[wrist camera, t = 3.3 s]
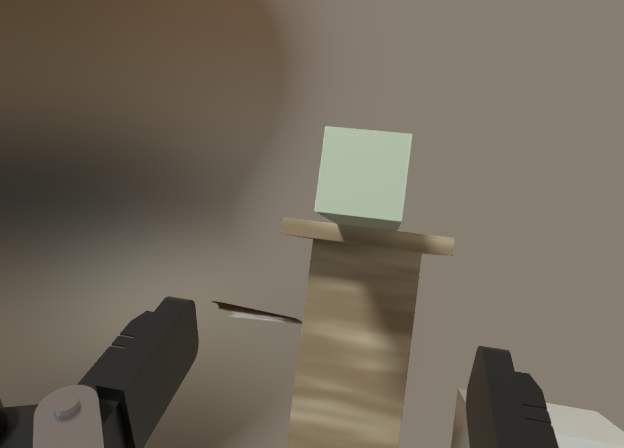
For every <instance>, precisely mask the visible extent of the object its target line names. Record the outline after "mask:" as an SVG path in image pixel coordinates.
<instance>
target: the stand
mask: <svg viewBox="0 0 624 448" xmlns="http://www.w3.org/2000/svg"><path fill="white" fill-rule="evenodd" d="M281 234H286V235H291V236H297V237H303V238H309V239H313V245H312V253H311V261H310V269H309V277H308V284H307V292H306V299H305V307H304V315H303V323H302V331H301V338H300V346H299V354H298V362H297V369H296V377H295V385H294V393H293V401H292V408H291V416H290V424H289V431H288V439H287V447H286V448H398V446H399V438H400V430H401V421H402V413H403V405H404V396H405V387H406V380H407V371H408V363H409V355H410V346H411V338H412V330H413V321H414V313H415V304H416V296H417V288H418V280H419V272H420V263H421V255H422V253H423V254H434V255H450V256H453V248H454V240H455V239H454V238H448V237H441V236H432V235H424V234H416V233H407V232H399V231H391V230H383V229H375V228H367V227H359V226H350V225H342V224H334V223H326V222H317V221H309V220H301V219H293V218H285V217H284V218H283V225H282V232H281Z"/></svg>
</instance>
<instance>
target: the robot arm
mask: <svg viewBox="0 0 624 448" xmlns="http://www.w3.org/2000/svg"><path fill="white" fill-rule="evenodd" d="M198 343H199V341H198V330H197V319H196V310H195V303H194V301H192V300H188V299H181V298H175V297H166V298H165V299H164V300H163V301H162V303H161V304H160V305H159V306H158V307H157V309H156V310H155V311H154V312H150V311H146V312H144V313H143V314H141V315H140V316H138V317H136V318H135V319H133V320H132V321H131V322H130V323H129V324H128V325H127V326H126V327H125V329H124V330H123V331H122V332H121V333H120V336H118V337H117V338H116V339H115V341H114V342H113V343H112V345H111V347H109V348H108V349H107V350H106V351H105V353H103V355H102V356H101V357H100V358H99V359H98V361H97V362H96V363H95V364H94V366H93V367H92V368H91V369H90V370H89V371H88V372H87V374H86V375H85V376H84V377H83V378H82V380H81V381H80V382H79V383H78V384H77V385H71V386H67V387H63V388H60V389H58V390H56V391H54V392H53V393H51V394H49V395H48V396H47V397H45V398H44V399H43V400H42V401H41V402H40V404H38V405H28V406H16V407H3V405H2V402H1V400H0V448H143V447H144V446H145V444H146V442H147V440H148V439H149V437H150V435H151V434H152V432H153V430H154V429H155V427H156V425H157V424H158V422H159V420H160V418H161V417H162V415H163V413H164V412H165V410H166V408H167V406H168V405H169V403H170V402H171V400H172V398H173V396H174V395H175V393H176V391H177V390H178V388H179V386H180V384H181V383H182V381H183V379H184V378H185V376H186V374H187V373H188V371H189V369H190V368H191V366H192V364H193V362H194V360H195V358H196V355H197V351H198ZM466 417H467V427H468V436H469V446H470V448H559V446H558V443H557V439H556V436H555V433H554V429H553V426H551V419H550V416H549V412H548V411H547V405H546V402H545V399H544V395H543V392H542V390H541V388H540V387H539V386H538V385H537V383H536V382H535V381H534V380H533V378H532V377H531V376H530V375H529V374H527V373H521V372H515V371H514V367H513V363H512V358H511V354H510V352H509V351H508V350H503V349H497V348H490V347H484V346H479V347H478V349H477V352H476V356H475V360H474V364H473V368H472V372H471V376H470V380H469V384H468V388H467V394H466Z"/></svg>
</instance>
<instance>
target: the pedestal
mask: <svg viewBox="0 0 624 448" xmlns="http://www.w3.org/2000/svg"><path fill="white" fill-rule="evenodd" d="M466 394H467V389H461V388H458V393H457V400H456V409H455V418H454V426H453V435H452V443H451V448H470V446H469V436H468V427H467V417H466ZM546 405H547V411H548V412H549V416H550V419H551V426H553V429H554V433H555V436H556V439H557V443H558V446H559V448H624V432H623V431H622V430H620V429H619V428H618V427H616V426H615V425H614V424H612V423H611V422H610V421H608V420H607V419H606V418H604V417H603V416H602V415H601V414H599V413H598V412H596V411H590V410H584V409H578V408H572V407H567V406H561V405H555V404H549V403H546Z"/></svg>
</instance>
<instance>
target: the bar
mask: <svg viewBox="0 0 624 448" xmlns="http://www.w3.org/2000/svg"><path fill="white" fill-rule="evenodd" d="M411 141H412V134H406V133H396V132H385V131H374V130H361V129H351V128H340V127H329V126H325V133H324V141H323V148H322V156H321V164H320V171H319V179H318V187H317V195H316V203H315V210H314V211H315V212H317V213H318V214H320V215H322V216H324V217H326V218H327V219H329V220H331V221H333V222H335V223H336V224H342V225H350V226H359V227H367V228H375V229H383V230H391V231H397V230H398V228H399V226H400V224H401V222H402V215H403V207H404V198H405V191H406V182H407V174H408V166H409V158H410V149H411Z"/></svg>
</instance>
